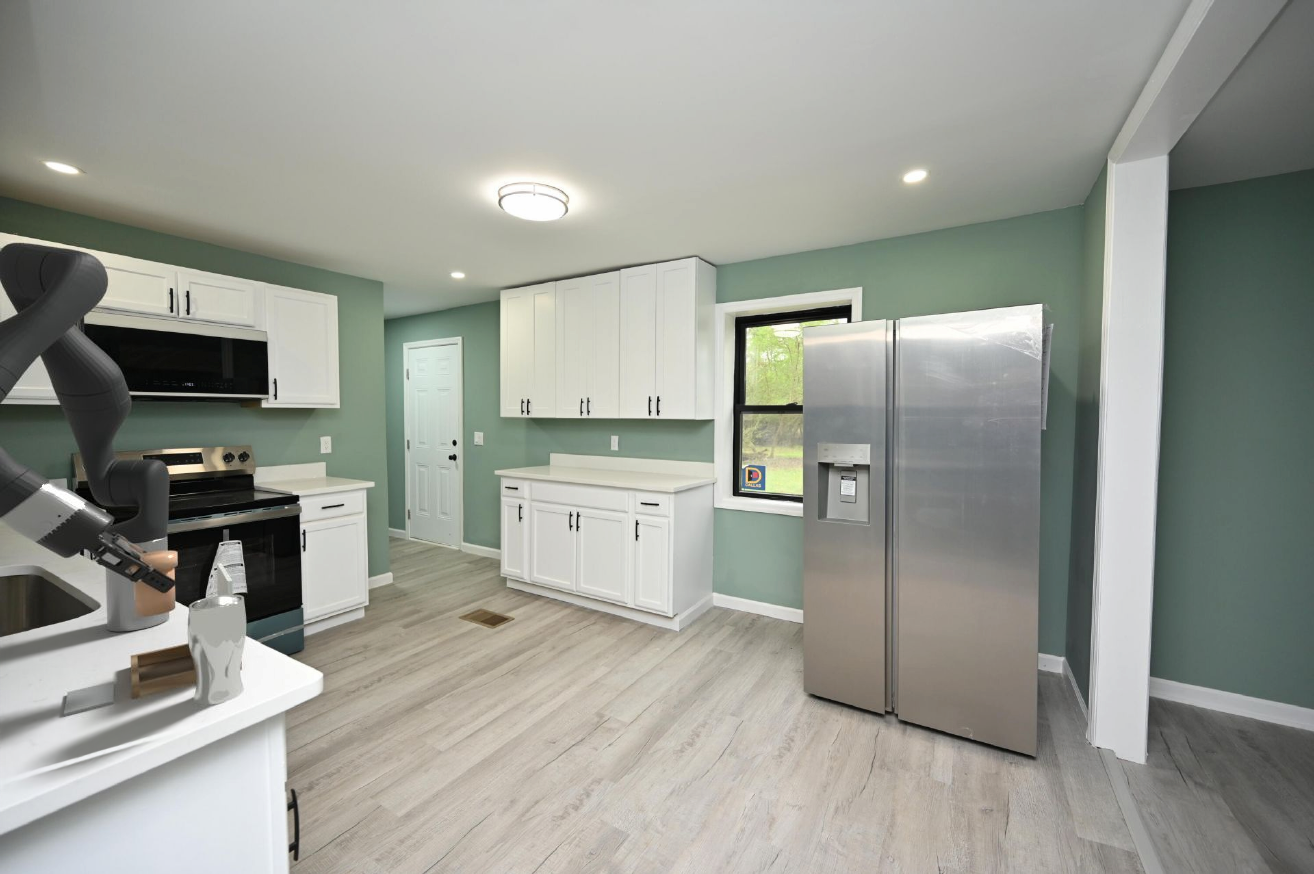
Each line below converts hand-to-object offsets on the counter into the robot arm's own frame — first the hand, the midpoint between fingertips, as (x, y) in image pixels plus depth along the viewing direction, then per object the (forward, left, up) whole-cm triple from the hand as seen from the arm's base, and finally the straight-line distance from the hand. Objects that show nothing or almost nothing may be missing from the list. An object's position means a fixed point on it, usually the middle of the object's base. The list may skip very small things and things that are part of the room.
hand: (169, 582), depth 90 cm
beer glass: (+13, +5, -16) cm, 21 cm away
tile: (+2, -9, -16) cm, 18 cm away
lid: (-1, +7, -9) cm, 11 cm away
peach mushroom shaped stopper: (0, -2, -4) cm, 5 cm away
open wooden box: (-1, +2, -16) cm, 16 cm away
